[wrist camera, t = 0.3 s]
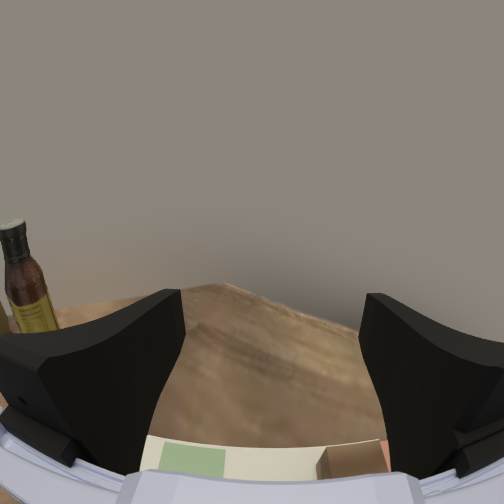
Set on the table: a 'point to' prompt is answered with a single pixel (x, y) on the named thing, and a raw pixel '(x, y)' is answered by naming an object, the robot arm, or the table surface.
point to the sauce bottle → (25, 281)
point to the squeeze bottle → (3, 322)
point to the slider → (351, 460)
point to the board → (236, 460)
